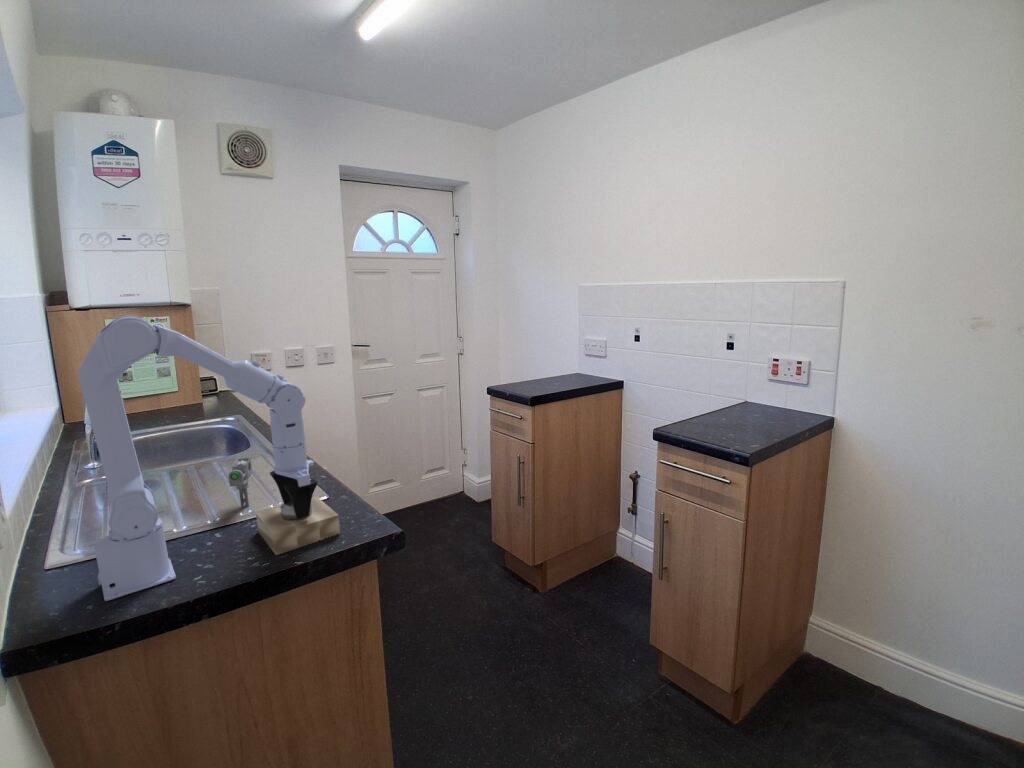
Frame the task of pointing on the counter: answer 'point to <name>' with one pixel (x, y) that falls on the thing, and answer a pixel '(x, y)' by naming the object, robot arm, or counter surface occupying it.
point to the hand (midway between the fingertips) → (296, 509)
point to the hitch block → (297, 527)
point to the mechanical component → (241, 477)
